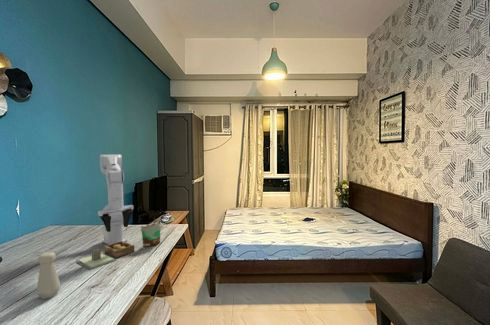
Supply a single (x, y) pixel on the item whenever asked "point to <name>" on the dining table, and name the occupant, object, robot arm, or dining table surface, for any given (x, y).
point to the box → (119, 249)
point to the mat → (95, 266)
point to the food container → (151, 234)
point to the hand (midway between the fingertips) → (117, 229)
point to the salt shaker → (47, 276)
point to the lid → (96, 259)
